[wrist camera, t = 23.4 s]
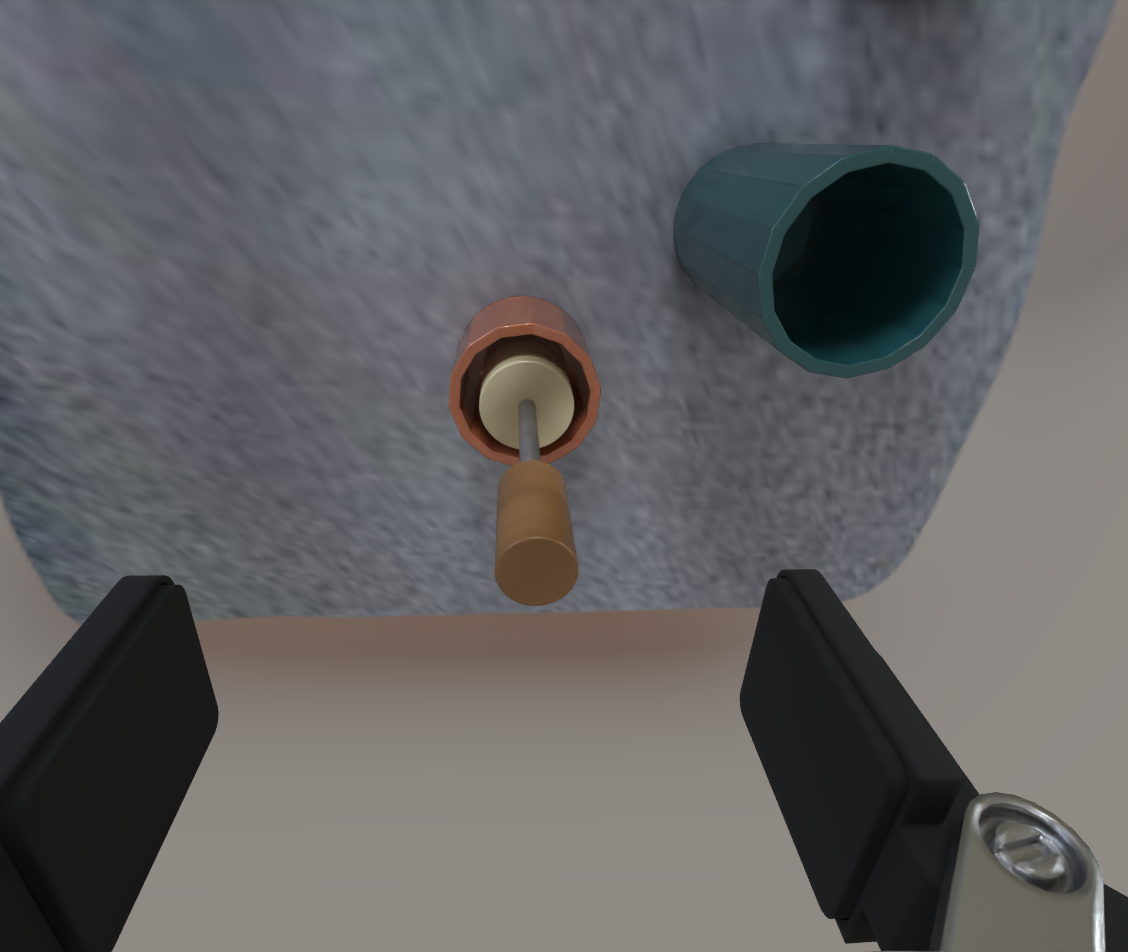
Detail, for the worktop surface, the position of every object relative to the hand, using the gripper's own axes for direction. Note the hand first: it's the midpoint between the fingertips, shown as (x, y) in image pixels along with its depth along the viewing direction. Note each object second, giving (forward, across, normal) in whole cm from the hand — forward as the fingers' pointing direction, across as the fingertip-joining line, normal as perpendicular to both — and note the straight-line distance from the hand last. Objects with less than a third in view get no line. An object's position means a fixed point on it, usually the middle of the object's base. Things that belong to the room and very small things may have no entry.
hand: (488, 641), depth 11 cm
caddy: (+26, -1, +4) cm, 27 cm away
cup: (+26, -13, -4) cm, 29 cm away
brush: (+26, -2, +4) cm, 26 cm away
